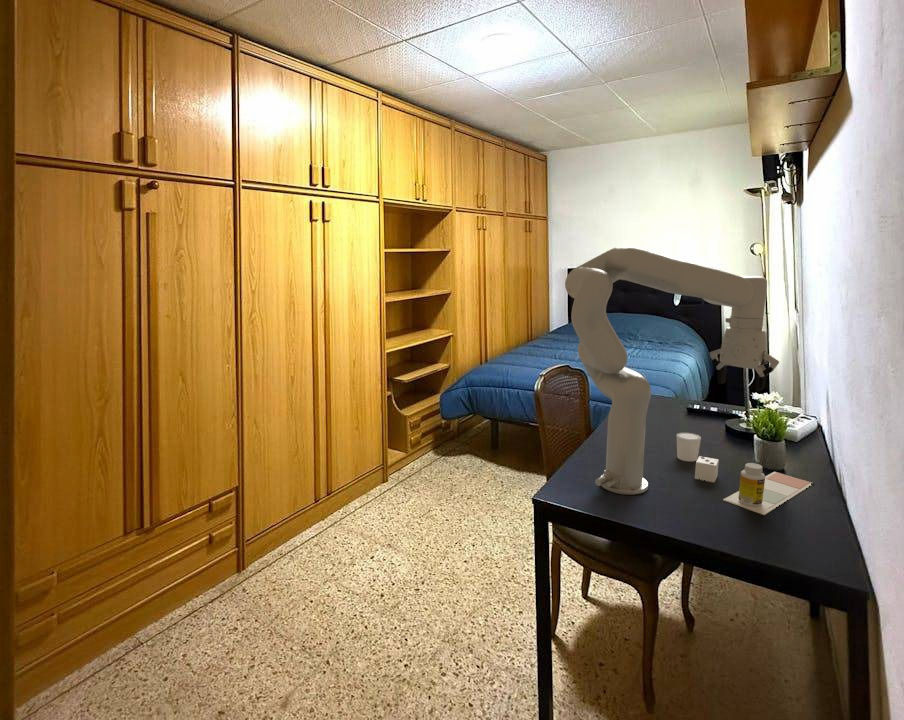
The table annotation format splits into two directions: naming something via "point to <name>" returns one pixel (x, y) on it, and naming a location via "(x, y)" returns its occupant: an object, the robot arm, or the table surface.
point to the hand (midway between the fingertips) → (739, 386)
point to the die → (706, 469)
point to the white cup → (688, 446)
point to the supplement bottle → (751, 485)
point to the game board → (773, 492)
